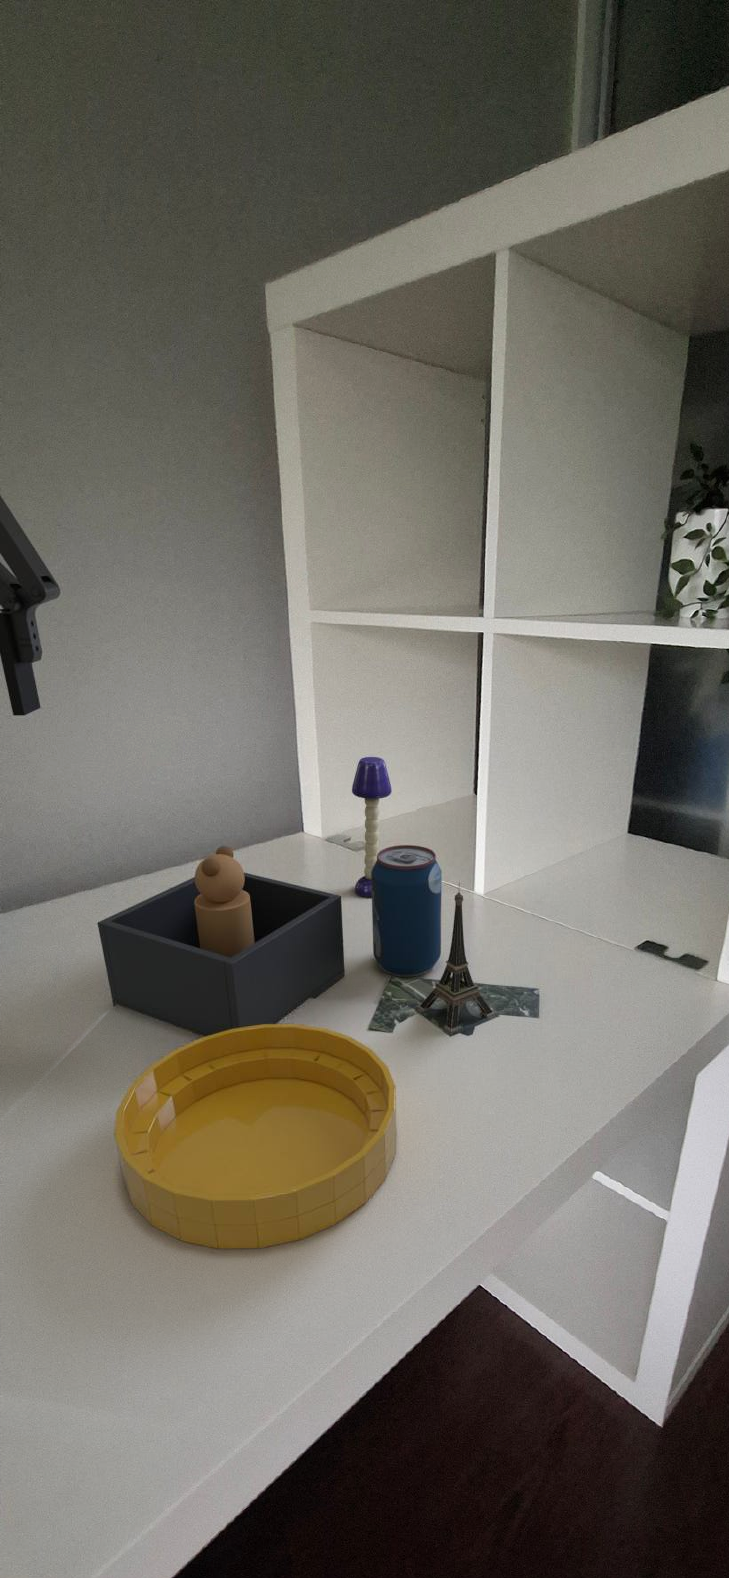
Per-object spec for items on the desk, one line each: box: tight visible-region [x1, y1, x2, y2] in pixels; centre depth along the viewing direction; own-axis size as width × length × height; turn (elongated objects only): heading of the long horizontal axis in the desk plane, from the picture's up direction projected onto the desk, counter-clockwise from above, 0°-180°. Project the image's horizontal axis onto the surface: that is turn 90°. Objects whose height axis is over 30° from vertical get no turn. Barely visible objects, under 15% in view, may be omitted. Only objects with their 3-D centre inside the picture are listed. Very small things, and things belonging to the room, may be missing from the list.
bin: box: [96, 872, 346, 1037], centre depth 76 cm, size 16×16×9 cm
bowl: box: [114, 1023, 397, 1250], centre depth 57 cm, size 19×19×4 cm
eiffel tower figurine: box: [368, 882, 541, 1038], centre depth 71 cm, size 15×10×13 cm
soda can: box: [371, 844, 443, 978], centre depth 80 cm, size 7×7×12 cm
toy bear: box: [194, 845, 255, 958], centre depth 75 cm, size 5×5×14 cm
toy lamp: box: [351, 756, 393, 898], centre depth 96 cm, size 5×5×17 cm
